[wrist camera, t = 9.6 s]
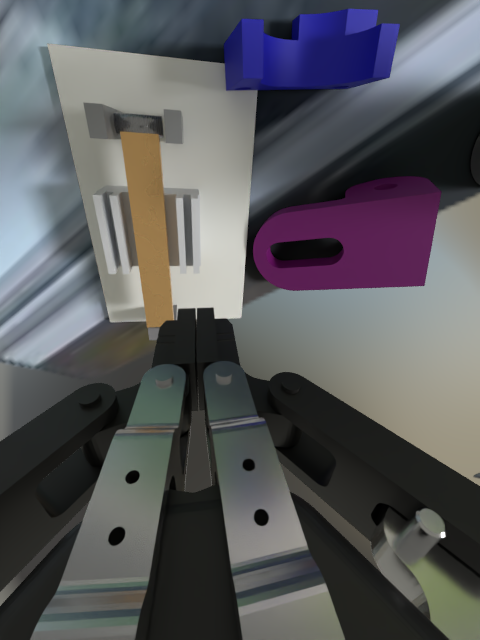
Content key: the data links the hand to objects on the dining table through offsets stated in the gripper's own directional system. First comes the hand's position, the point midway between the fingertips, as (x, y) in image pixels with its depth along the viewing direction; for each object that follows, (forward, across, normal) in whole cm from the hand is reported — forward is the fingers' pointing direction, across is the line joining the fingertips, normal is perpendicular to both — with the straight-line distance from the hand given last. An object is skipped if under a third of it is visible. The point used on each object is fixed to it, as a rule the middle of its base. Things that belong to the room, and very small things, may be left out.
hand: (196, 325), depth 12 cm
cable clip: (+22, -9, -13) cm, 28 cm away
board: (+23, +3, +1) cm, 23 cm away
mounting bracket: (+24, -15, +2) cm, 28 cm away
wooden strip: (+17, +4, +1) cm, 18 cm away
